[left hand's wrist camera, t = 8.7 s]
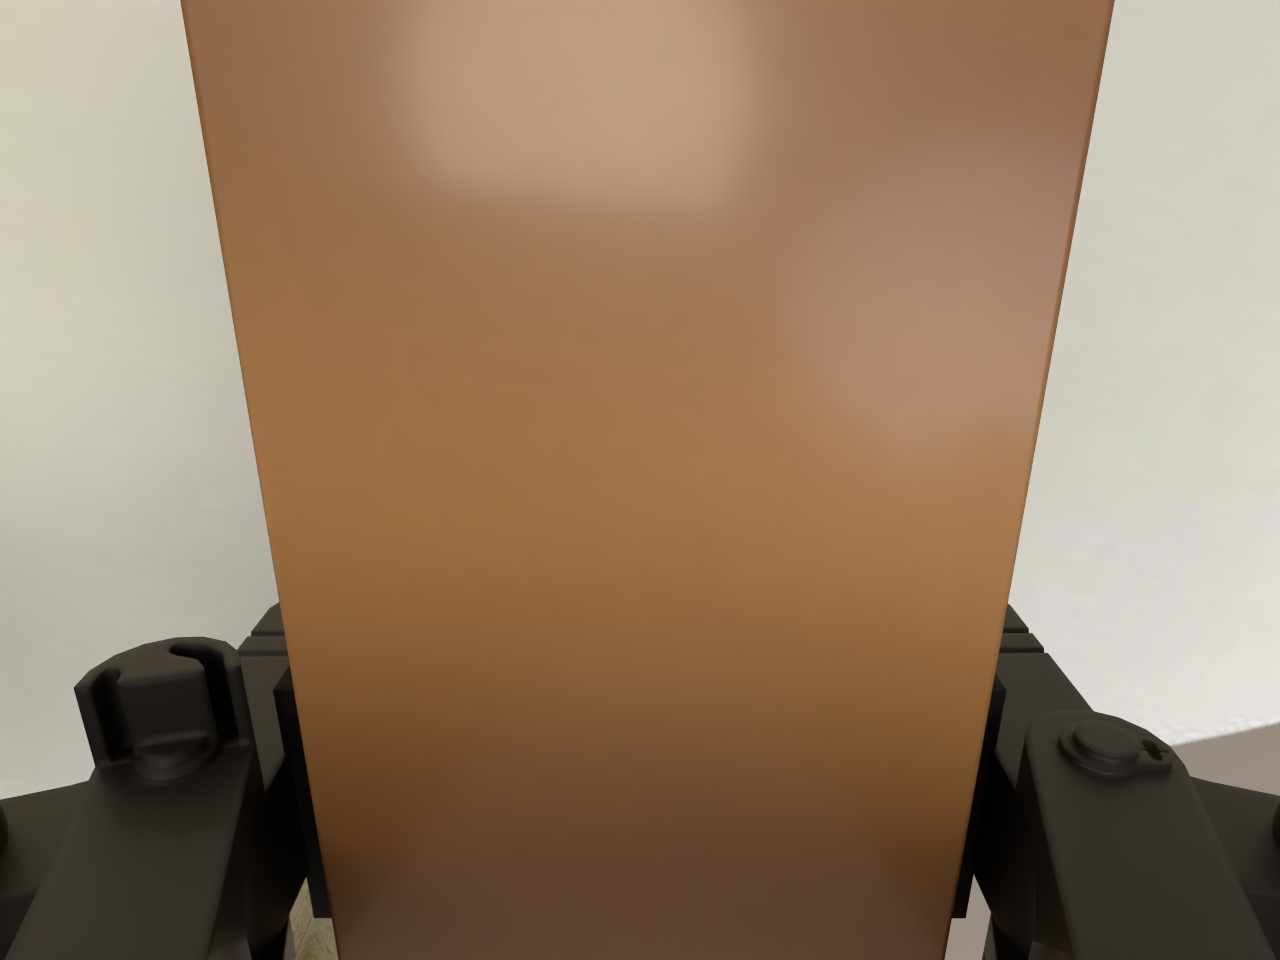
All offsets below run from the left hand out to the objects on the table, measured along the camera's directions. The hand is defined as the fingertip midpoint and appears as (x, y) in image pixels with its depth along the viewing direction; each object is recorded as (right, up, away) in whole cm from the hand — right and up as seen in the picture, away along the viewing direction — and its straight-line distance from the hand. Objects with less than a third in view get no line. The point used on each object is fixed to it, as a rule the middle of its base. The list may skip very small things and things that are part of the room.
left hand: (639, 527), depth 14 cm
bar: (0, +31, -11) cm, 33 cm away
